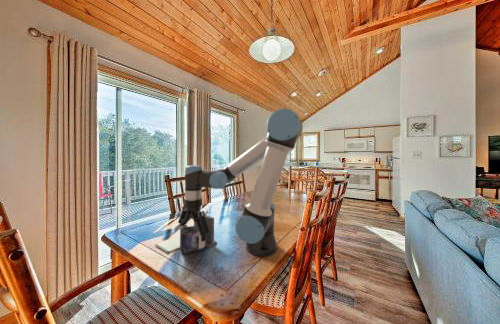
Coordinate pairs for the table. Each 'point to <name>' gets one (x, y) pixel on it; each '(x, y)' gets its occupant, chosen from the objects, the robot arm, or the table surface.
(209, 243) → the screen
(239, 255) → the table surface
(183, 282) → the table surface
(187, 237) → the small box
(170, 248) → the pad
